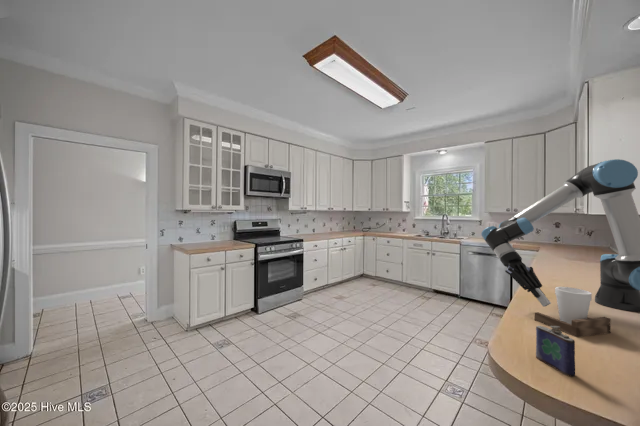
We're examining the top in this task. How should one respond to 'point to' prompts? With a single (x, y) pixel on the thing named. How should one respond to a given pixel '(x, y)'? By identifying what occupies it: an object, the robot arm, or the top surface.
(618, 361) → the top surface
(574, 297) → the foam cup
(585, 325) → the corral
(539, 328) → the flask
